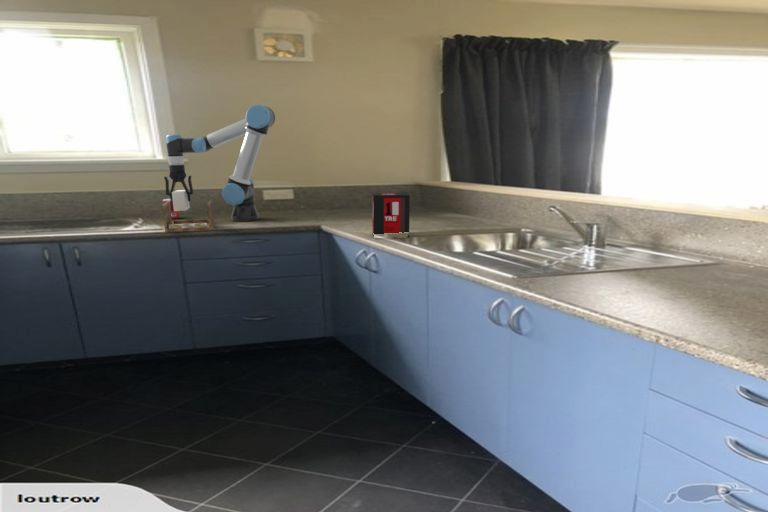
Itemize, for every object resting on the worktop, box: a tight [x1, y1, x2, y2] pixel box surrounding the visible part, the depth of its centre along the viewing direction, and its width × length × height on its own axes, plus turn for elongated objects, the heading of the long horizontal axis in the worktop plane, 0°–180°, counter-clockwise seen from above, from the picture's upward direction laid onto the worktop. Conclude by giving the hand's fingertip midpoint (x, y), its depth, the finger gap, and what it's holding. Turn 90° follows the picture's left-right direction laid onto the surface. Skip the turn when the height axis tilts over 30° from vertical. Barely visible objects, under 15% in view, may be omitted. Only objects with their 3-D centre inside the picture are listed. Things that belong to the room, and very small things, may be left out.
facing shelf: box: [161, 199, 215, 233], centre depth 255 cm, size 22×14×14 cm, turn 102°
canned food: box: [162, 198, 180, 220], centre depth 288 cm, size 8×8×11 cm
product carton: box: [172, 189, 191, 212], centre depth 269 cm, size 12×6×10 cm, turn 12°
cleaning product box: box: [371, 192, 411, 234], centre depth 233 cm, size 16×9×20 cm, turn 95°
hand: (181, 207), depth 270 cm, fingers closed on product carton, 6 cm apart
